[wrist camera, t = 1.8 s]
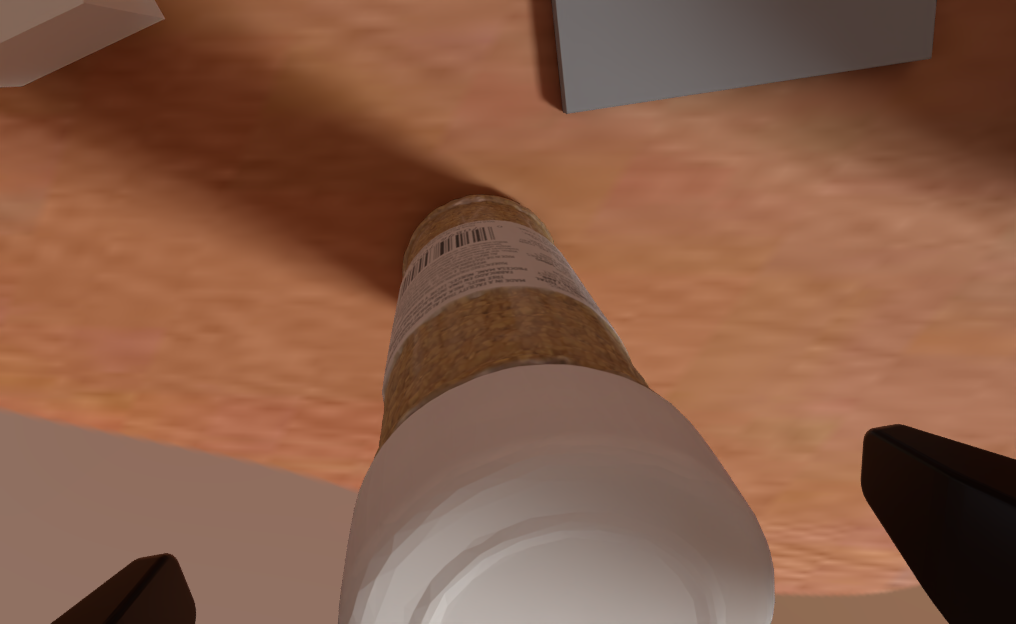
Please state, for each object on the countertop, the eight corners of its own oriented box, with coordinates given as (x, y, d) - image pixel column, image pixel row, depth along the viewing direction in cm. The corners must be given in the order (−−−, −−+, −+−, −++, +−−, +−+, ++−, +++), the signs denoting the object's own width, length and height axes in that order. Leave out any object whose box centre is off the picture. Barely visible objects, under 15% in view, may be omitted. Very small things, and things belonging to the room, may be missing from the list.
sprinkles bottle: (430, 357, 20) (417, 857, 7) (380, 215, 18) (247, 542, 6) (575, 314, 20) (815, 740, 7) (537, 168, 18) (762, 388, 6)
